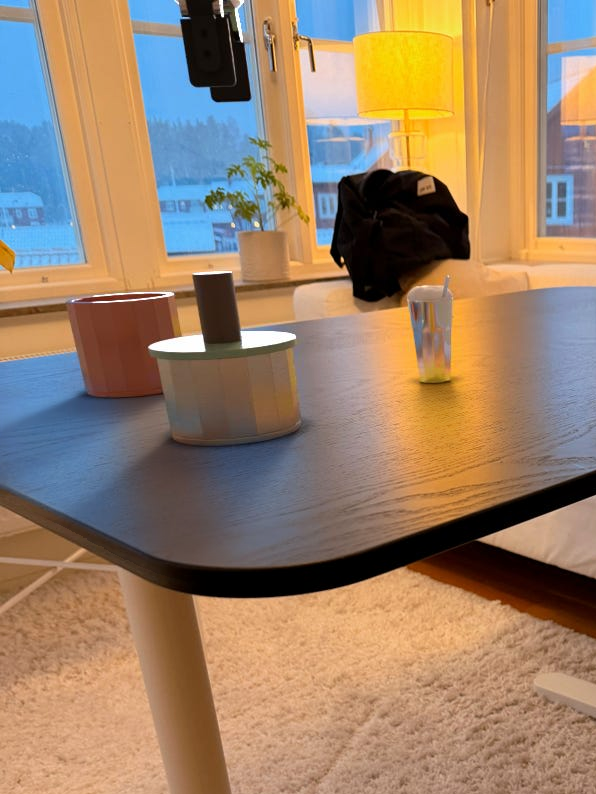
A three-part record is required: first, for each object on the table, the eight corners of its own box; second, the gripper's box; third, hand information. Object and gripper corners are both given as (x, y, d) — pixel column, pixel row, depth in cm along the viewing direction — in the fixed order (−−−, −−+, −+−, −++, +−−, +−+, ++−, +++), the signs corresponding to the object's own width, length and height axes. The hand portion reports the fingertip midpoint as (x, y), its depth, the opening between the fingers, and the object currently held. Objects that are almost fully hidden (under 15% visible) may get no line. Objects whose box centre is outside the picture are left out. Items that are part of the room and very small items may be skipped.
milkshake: (435, 387, 87) (428, 278, 83) (404, 381, 91) (396, 276, 86) (471, 380, 90) (466, 274, 85) (439, 374, 93) (433, 272, 89)
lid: (127, 371, 66) (108, 281, 63) (180, 348, 76) (166, 270, 73) (278, 365, 65) (266, 275, 62) (311, 343, 75) (301, 265, 72)
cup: (69, 399, 89) (46, 304, 85) (111, 380, 99) (93, 294, 95) (169, 395, 89) (151, 300, 85) (203, 377, 98) (187, 290, 94)
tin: (152, 448, 69) (135, 361, 66) (196, 418, 78) (182, 341, 75) (284, 443, 68) (272, 356, 65) (312, 415, 77) (303, 337, 75)
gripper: (151, -153, 67) (193, 108, 75) (88, -262, 52) (148, 81, 59) (251, -154, 68) (282, 105, 75) (218, -261, 52) (261, 77, 60)
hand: (223, 94), depth 67 cm, fingers open, 9 cm apart
